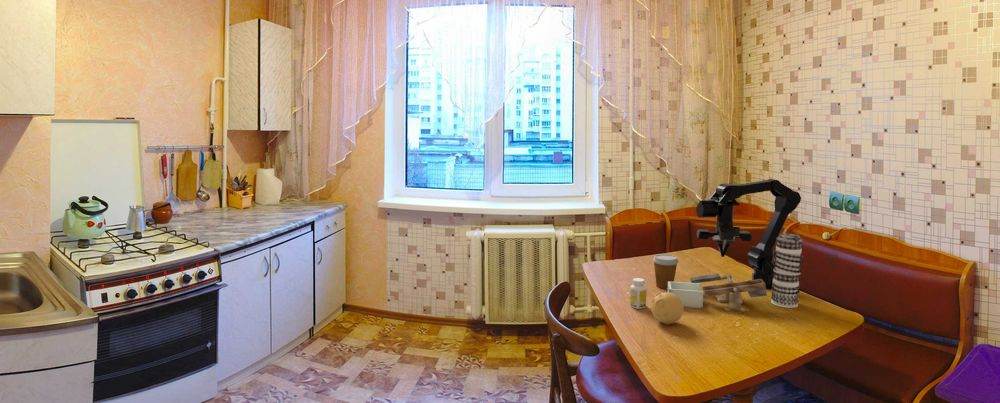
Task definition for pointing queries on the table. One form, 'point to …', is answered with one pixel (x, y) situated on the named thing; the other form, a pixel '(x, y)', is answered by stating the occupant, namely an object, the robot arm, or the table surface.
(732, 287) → the lever
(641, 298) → the supplement bottle
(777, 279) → the decorative candle
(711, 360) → the table surface
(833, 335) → the table surface
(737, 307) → the fulcrum stand
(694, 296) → the white storage tray
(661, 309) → the stress ball
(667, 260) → the disposable coffee cup
